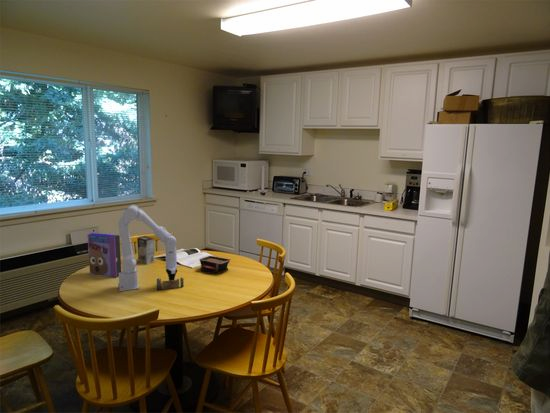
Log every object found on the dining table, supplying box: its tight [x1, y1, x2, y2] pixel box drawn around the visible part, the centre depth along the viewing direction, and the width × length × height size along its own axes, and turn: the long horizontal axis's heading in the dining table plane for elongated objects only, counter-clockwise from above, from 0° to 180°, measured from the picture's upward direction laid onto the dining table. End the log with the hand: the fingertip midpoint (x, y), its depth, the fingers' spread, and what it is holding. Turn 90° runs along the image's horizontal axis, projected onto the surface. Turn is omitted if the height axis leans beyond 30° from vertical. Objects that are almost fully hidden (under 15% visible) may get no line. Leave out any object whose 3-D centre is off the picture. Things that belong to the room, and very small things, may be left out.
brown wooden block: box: [161, 278, 180, 290], centre depth 200 cm, size 8×2×4 cm, turn 114°
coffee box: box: [137, 235, 155, 265], centre depth 241 cm, size 9×6×16 cm
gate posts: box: [156, 277, 184, 292], centre depth 200 cm, size 14×2×6 cm, turn 114°
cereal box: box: [86, 232, 122, 279], centre depth 216 cm, size 17×5×24 cm, turn 76°
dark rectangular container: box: [199, 255, 231, 275], centre depth 229 cm, size 14×18×10 cm
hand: (171, 282), depth 206 cm, fingers closed
